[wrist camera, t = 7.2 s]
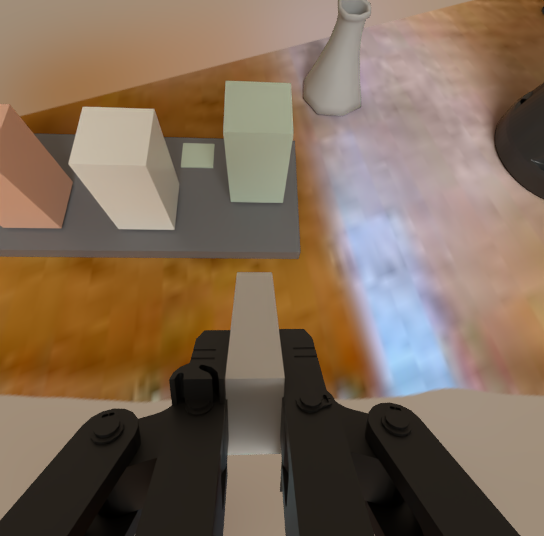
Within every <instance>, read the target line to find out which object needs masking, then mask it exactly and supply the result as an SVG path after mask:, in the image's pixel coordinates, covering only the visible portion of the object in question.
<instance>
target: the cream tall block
mask: <svg viewBox="0 0 544 536" xmlns="http://www.w3.org/2000/svg"><path fill="white" fill-rule="evenodd" d="M68 164H69V166H70V167H71V168H72V169H73V171H74V172H75V173H76V175H77V176H78V177H79V179H80V180H81V181H82V182H83V184H84V185H85V186H86V188H87V189H88V190H89V191H90V193H91V194H92V195H93V197H94V198H95V199H96V201H97V202H98V203H99V204H100V206H101V207H102V208H103V210H104V211H105V212H106V214H107V215H108V216H109V217H110V219H111V220H112V221H113V223H114V224H115V225H116V226H117V228H118V229H143V230H175V222H176V212H177V203H178V193H179V181H178V178H177V175H176V172H175V169H174V166H173V163H172V160H171V157H170V154H169V151H168V148H167V145H166V142H165V139H164V136H163V133H162V130H161V127H160V124H159V121H158V118H157V115H156V112H155V109H139V108H108V107H83V108H82V112H81V116H80V120H79V124H78V128H77V131H76V135H75V139H74V143H73V147H72V151H71V155H70V159H69V163H68Z"/></svg>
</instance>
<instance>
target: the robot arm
mask: <svg viewBox="0 0 544 536" xmlns="http://www.w3.org/2000/svg"><path fill="white" fill-rule="evenodd" d="M495 143H496V148H497V151H498V154H499V156H500V159H501V161H502V162H503V164H504V166H505V167H506V168H507V170H508V171H509V172H510V174H511V175H512V176H513V177H514V178H515V179H516V180H517V181H518V182H519V183H520V184H521V185H523V186H524V187H525V188H527V189H528V190H529V191H531V192H532V193H534V194H535V195H537V196H539V197H541V198H543V199H544V83H543V84H542V85H540V86H539V87H537V88H536V89H535V90H533V91H532V92H529V93H528V94H526V95H524V96H523V97H522V98H520V99H519V100H518V101H517V102H516V103H515V104H514V105H513V106H512V107H511V108H510V109H509V110H508V111H507V112H506V114H505V115H504V116H503V117H502V118H501V120H500V121H499V123H498V125H497V128H496V132H495ZM169 382H170V390H171V399H172V406H171V407H169V408H168V409H166V410H164V411H162V412H160V413H157V414H154V415H151V416H147V417H143V418H140V419H138V418H137V417H136V416H135V414H134V413H133V412H131V411H129V410H126V409H111V410H107V411H103V412H101V413H99V414H97V415H95V416H93V417H92V418H90V419H89V420H88V421H87V422H86V423H85V424H84V425H83V426H82V427H81V428H80V429H79V430H78V431H77V432H76V434H75V435H74V436H73V437H72V438H71V439H70V440H69V442H68V443H67V444H66V445H65V446H64V448H63V449H62V450H61V451H60V452H59V453H58V454H57V456H56V457H55V458H54V459H53V460H52V461H51V462H50V464H49V465H48V466H47V467H46V468H45V469H44V471H43V472H42V473H41V474H40V475H39V476H38V478H37V479H36V480H35V481H34V482H33V483H32V484H31V486H30V487H29V488H28V489H27V490H26V492H25V493H24V494H23V495H22V496H21V497H20V498H19V499H18V501H17V502H16V503H15V504H14V505H13V507H12V508H11V509H10V510H9V511H8V512H7V513H6V514H5V516H4V517H3V518H2V519H1V520H0V536H223V528H224V515H225V501H226V486H227V455H247V454H248V455H249V454H280V453H281V454H282V466H281V483H280V492H283V504H284V518H285V532H286V536H374V534H375V536H520V535H519V534H518V533H517V531H516V530H515V529H514V528H513V527H512V526H511V524H510V523H509V522H508V521H507V520H506V519H505V517H504V516H503V515H502V514H501V513H500V511H499V510H498V509H497V508H496V507H495V506H494V505H493V503H492V502H491V501H490V500H489V499H488V498H487V496H486V495H485V494H484V493H483V492H482V491H481V489H480V488H479V487H478V486H477V485H476V484H475V482H474V481H473V480H472V479H471V478H470V477H469V475H468V474H467V473H466V472H465V471H464V470H463V468H462V467H461V466H460V465H459V464H458V463H457V462H456V460H455V459H454V458H453V457H452V456H451V454H450V453H449V452H448V451H447V450H446V449H445V447H444V446H443V445H442V444H441V443H440V442H439V440H438V439H437V438H436V437H435V436H434V435H433V433H432V432H431V431H430V430H429V429H428V428H427V427H426V425H425V424H424V423H423V422H422V421H421V419H420V418H419V417H418V416H416V415H415V414H414V413H413V412H412V411H411V410H409V409H407V408H405V407H403V406H401V405H397V404H393V403H380V404H378V405H375V406H374V407H372V409H371V410H370V411H369V413H364V412H360V411H356V410H352V409H349V408H346V407H344V406H342V405H340V404H338V403H337V402H336V401H335V400H334V398H333V396H332V395H331V394H330V393H329V392H328V391H327V390H326V387H325V383H324V380H323V376H322V372H321V369H320V365H319V361H318V358H317V354H316V350H315V347H314V343H313V339H312V337H311V336H310V335H309V334H308V333H307V332H306V331H305V330H304V329H279V326H278V318H277V310H276V302H275V293H274V285H273V277H272V272H237V278H236V287H235V296H234V305H233V313H232V322H231V330H208V331H204V332H203V333H202V334H201V335H200V336H199V337H198V338H197V339H196V342H195V346H194V351H193V353H192V357H191V361H190V363H189V364H186V365H184V366H181V367H180V368H179V369H177V370H176V371H175V372H174V373H173V374H172V376H171V377H170V379H169Z"/></svg>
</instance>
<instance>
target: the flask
mask: <svg viewBox="0 0 544 536" xmlns="http://www.w3.org/2000/svg"><path fill="white" fill-rule="evenodd" d="M370 15H371V3H370V2H368V1H367V0H338V18H337V22H336V25H335V27H334V30H333V33H332V35H331V37H330V39H329V41H328V43H327V44H326V46H325V48H324V50H323V51H322V53H321V55H320V56H319V58H318V60H317V61H316V63H315V64H314V66H313V67H312V69H311V70H310V72H309V73H308V75H307V77H306V78H305V80H304V94H303V98H304V99H305V101H306V102H307V103H308V104H309V105H310V106H311V107H312V108H313V109H314V111H315V112H316V113H317V114H322V115H334V116H344V115H346V114H348V113H350V112H352V111H354V110H356V109H358V108H360V107H361V91H360V44H361V36H362V31H363V28H364V24H365V21H366V19H367V18H369V17H370Z"/></svg>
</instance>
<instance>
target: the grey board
mask: <svg viewBox="0 0 544 536" xmlns="http://www.w3.org/2000/svg"><path fill="white" fill-rule="evenodd" d="M33 134H34V133H33ZM34 135H35V136H36V137H37V139H38V140H39V141H40V142H41V143H42V145H43V146H44V147H45V148H46V150H47V151H48V152H49V153H50V154H51V156H52V157H53V158H54V159H55V161H56V162H57V163H58V164H59V166H60V167H61V168H62V169H63V170H64V172H65V173H66V174H67V175H68V177H69V178H70V179H71V180H72V181H73V184H72V188H71V192H70V196H69V200H68V204H67V208H66V212H65V216H64V220H63V224H62V228H3V227H2V226H0V256H6V257H134V258H263V259H298V258H299V255H300V236H299V216H298V196H297V177H296V157H295V141H292V147H291V153H290V160H289V166H288V173H287V179H286V186H285V192H284V199H283V203H258V202H231V200H230V191H229V181H228V172H227V163H226V154H225V144H224V139H215V138H179V137H164V139H165V142H166V145H167V148H168V151H169V154H170V157H171V160H172V163H173V166H174V169H175V172H176V175H177V178H178V181H179V193H178V203H177V212H176V222H175V230H143V229H118V228H117V226H116V225H115V224H114V223H113V221H112V220H111V219H110V217H109V216H108V215H107V214H106V212H105V211H104V210H103V208H102V207H101V206H100V204H99V203H98V202H97V201H96V199H95V198H94V197H93V195H92V194H91V193H90V191H89V190H88V189H87V188H86V186H85V185H84V184H83V182H82V181H81V180H80V179H79V177H78V176H77V175H76V173H75V172H74V171H73V169H72V168H71V167H70V166H69V164H68V163H69V159H70V155H71V151H72V147H73V143H74V139H75V135H71V134H34Z"/></svg>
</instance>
